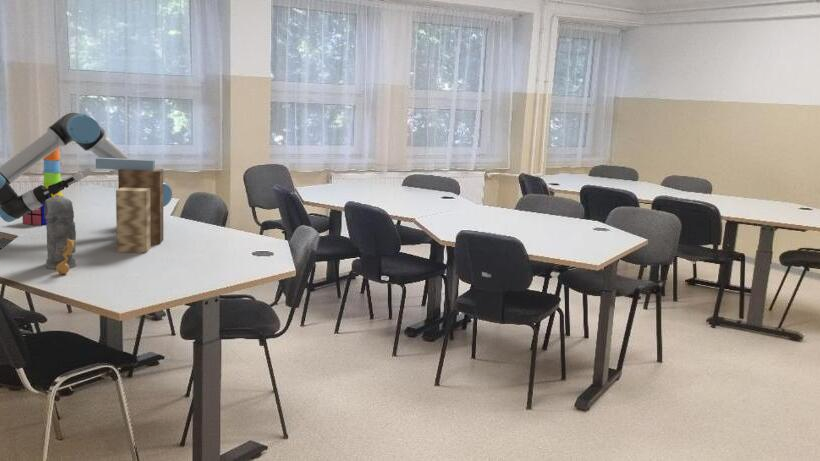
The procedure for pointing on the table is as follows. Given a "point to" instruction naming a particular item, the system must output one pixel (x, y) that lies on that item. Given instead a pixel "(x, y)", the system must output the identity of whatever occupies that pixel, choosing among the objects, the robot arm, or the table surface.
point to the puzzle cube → (35, 217)
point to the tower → (156, 195)
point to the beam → (125, 164)
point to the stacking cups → (52, 170)
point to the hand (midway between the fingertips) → (86, 172)
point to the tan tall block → (133, 219)
